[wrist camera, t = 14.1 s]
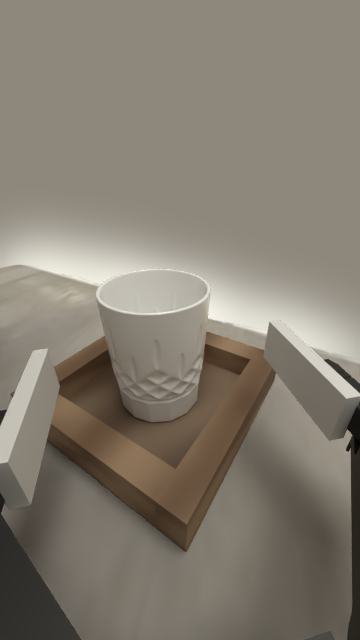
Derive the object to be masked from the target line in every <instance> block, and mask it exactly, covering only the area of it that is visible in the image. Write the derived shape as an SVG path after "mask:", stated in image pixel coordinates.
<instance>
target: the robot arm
mask: <svg viewBox="0 0 360 640" xmlns="http://www.w3.org/2000/svg"><path fill="white" fill-rule="evenodd" d="M263 357H264V358H265V359H266V361H267V362H268V363H269V365H270V366H271V367H272V368H273V370H274V371H275V372H276V373H277V375H278V376H279V377H280V379H281V380H282V381H283V382H284V384H285V385H286V386H287V387H288V389H289V390H290V391H291V393H292V394H293V395H294V396H295V398H296V399H297V400H298V402H299V403H300V404H301V405H302V407H303V408H304V409H305V410H306V412H307V413H308V414H309V416H310V417H311V418H312V419H313V421H314V422H315V423H316V424H317V426H318V427H319V428H320V430H321V431H322V432H323V433H324V435H325V436H326V437H327V439H328V440H329V441H330V440H335V439H339V438H343V437H344V435H345V433H346V431H347V429H348V430H349V431H350V432H351V434H352V438H351V440H350V442H349V444H348V446H347V449H346V451H348V452H349V450H350V448H351V512H352V601H353V603H352V614H351V618H350V622H349V627H348V638H347V640H360V384H359V383H358V382H357V381H356V380H355V379H354V378H352V377H351V376H350V375H349V374H348V373H347V372H345V370H344V369H342V368H341V367H340V366H339V365H338V364H336V363H334V362H332V361H331V360H329V359H325V360H323V359H322V358H321V357H320V356H319V355H318V354H317V353H315V352H314V351H313V350H312V349H311V348H310V347H309V346H308V345H307V344H306V343H304V341H303V340H301V339H300V338H299V337H298V336H297V335H296V334H295V333H294V332H293V331H292V330H291V329H290V328H288V327H287V326H286V325H285V324H284V323H283V322H282V321H281V320H279V321H270V322H269V327H268V333H267V338H266V344H265V350H264V355H263ZM59 388H60V385H59V382H58V378H57V375H56V372H55V369H54V365H53V362H52V359H51V356H50V353H49V349H41V350H33V352H32V354H31V357H30V359H29V361H28V364H27V366H26V368H25V370H24V373H23V375H22V377H21V380H20V382H19V384H18V387H17V389H16V391H15V393H14V396H13V398H12V400H11V403H10V405H9V407H8V409H7V410H2V411H0V640H81V639H80V637H79V636H78V634H77V633H76V631H75V629H74V628H73V626H72V625H71V623H70V622H69V620H68V618H67V617H66V615H65V614H64V612H63V611H62V609H61V608H60V606H59V604H58V603H57V601H56V600H55V598H54V597H53V595H52V593H51V592H50V590H49V589H48V587H47V586H46V584H45V582H44V581H43V579H42V578H41V576H40V575H39V573H38V572H37V570H36V568H35V567H34V565H33V564H32V562H31V561H30V559H29V557H28V556H27V554H26V553H25V551H24V550H23V548H22V547H21V545H20V543H19V542H18V540H17V539H16V537H15V536H14V534H13V532H12V531H11V529H10V528H9V526H8V525H7V523H6V522H5V520H4V518H3V517H2V515H1V512H2V509H3V505H4V502H5V504H6V505H7V507H8V508H9V510H11V509H15V508H20V507H25V506H29V505H31V503H32V499H33V495H34V491H35V486H36V482H37V478H38V474H39V470H40V466H41V462H42V458H43V454H44V450H45V445H46V441H47V437H48V433H49V429H50V425H51V421H52V417H53V413H54V409H55V404H56V400H57V396H58V392H59ZM306 640H334V638H333V636H332V634H331V632H330V631H328V632H326V633H323V634H320V635H317V636H314V637H312V638H309V639H306Z"/></svg>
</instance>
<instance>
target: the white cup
mask: <svg viewBox="0 0 360 640" xmlns="http://www.w3.org/2000/svg"><path fill="white" fill-rule="evenodd" d="M210 291H211V289H210V286H209V284H208V283H207V281H205V280H204V279H203V278H201V277H199V276H197V275H195V274H192V273H189V272H185V271H180V270H172V269H146V270H138V271H132V272H127V273H123V274H120V275H117V276H115V277H112V278H110V279H108V280H107V281H105V282H104V283H102V284H101V285H100V286H99V287H98V289H97V291H96V299H97V303H98V308H99V312H100V316H101V321H102V325H103V329H104V334H105V338H106V342H107V347H108V351H109V355H110V360H111V364H112V367H113V370H114V374H115V377H116V379H117V381H118V385H119V388H120V393H121V398H122V402H123V406H124V407H125V408H126V409H127V410H128V411H129V412H130V413H131V414H132V415H133V416H134V417H136V418H139V419H142V420H145V421H148V422H166V421H172V420H174V419H176V418H178V417H180V416H182V415H184V414H186V413H188V411H189V410H190V409H191V408H192V406H193V405H194V404H195V403H196V401H197V396H198V387H199V379H200V374H201V372H202V364H203V358H204V349H205V338H206V330H207V320H208V309H209V300H210Z"/></svg>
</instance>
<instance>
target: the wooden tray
mask: <svg viewBox="0 0 360 640" xmlns="http://www.w3.org/2000/svg"><path fill="white" fill-rule="evenodd" d="M263 355H264V350H262V349H258V348H255V347H252V346H249V345H246V344H243V343H240V342H237V341H234V340H231V339H228V338H225V337H222V336H219V335H216V334H212V333H209V332H206V338H205V349H204V358H203V364H202V372H201V374H200V379H199V387H198V396H197V401H196V403H195V404H194V405H193V406H192V408H191V409H190V410H189V411H188V413H186V414H184V415H182V416H180V417H178V418H176V419H174V420H172V421H166V422H148V421H145V420H142V419H139V418H136V417H134V416H133V415H132V414H131V413H130V412H129V411H128V410H127V409H126V408H125V407H124V406H123V402H122V398H121V393H120V388H119V385H118V381H117V379H116V377H115V374H114V370H113V367H112V364H111V360H110V355H109V351H108V347H107V342H106V338H105V336H104V337H102V338H100V339H99V340H97V341H95V342H94V343H92V344H91V345H89V346H87V347H86V348H84V349H82V350H81V351H79V352H78V353H76V354H74V355H73V356H71V357H70V358H68V359H66V360H65V361H63V362H61V363H60V364H58V365H57V366H55V367H54V369H55V372H56V375H57V378H58V382H59V385H60V388H59V392H58V396H57V400H56V404H55V409H54V413H53V417H52V421H51V425H50V429H49V433H48V437H47V440H48V441H49V442H50V443H51V444H53V445H54V446H55V447H56V448H58V449H59V450H60V451H61V452H63V453H64V454H65V455H66V456H68V457H69V458H70V459H71V460H73V461H74V462H75V463H76V464H78V465H79V466H80V467H81V468H83V469H84V470H85V471H86V472H88V473H89V474H90V475H91V476H93V477H94V478H95V479H96V480H97V481H99V482H100V483H101V484H102V485H104V486H105V487H106V488H107V489H109V490H110V491H111V492H112V493H114V494H115V495H116V496H117V497H119V498H120V499H121V500H122V501H124V502H125V503H126V504H127V505H129V506H130V507H131V508H132V509H134V510H135V511H136V512H137V513H139V514H140V515H141V516H142V517H144V518H145V519H146V520H147V521H149V522H150V523H151V524H152V525H154V526H155V527H156V528H157V529H159V530H160V531H161V532H162V533H164V534H165V535H166V536H167V537H169V538H170V539H171V540H172V541H174V542H175V543H176V544H177V545H179V546H180V547H181V548H182V549H184V550H185V551H186V552H187V550H188V548H189V546H190V544H191V542H192V540H193V538H194V536H195V534H196V532H197V530H198V528H199V526H200V524H201V522H202V520H203V518H204V516H205V515H206V513H207V511H208V509H209V507H210V505H211V503H212V501H213V499H214V497H215V495H216V493H217V491H218V489H219V487H220V485H221V483H222V481H223V479H224V477H225V475H226V473H227V471H228V469H229V467H230V466H231V464H232V462H233V460H234V458H235V456H236V454H237V452H238V450H239V448H240V446H241V444H242V442H243V440H244V438H245V436H246V434H247V432H248V430H249V428H250V426H251V424H252V422H253V420H254V419H255V417H256V415H257V413H258V411H259V409H260V407H261V405H262V403H263V401H264V399H265V397H266V395H267V393H268V391H269V389H270V387H271V385H272V383H273V381H274V378H275V374H276V372H275V371H274V370H273V368H272V367H271V366H270V365H269V363H268V362H267V361H266V359H265V358H264V357H263ZM14 393H15V391H14V392H13V393H11V396H12V398H13V396H14Z"/></svg>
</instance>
